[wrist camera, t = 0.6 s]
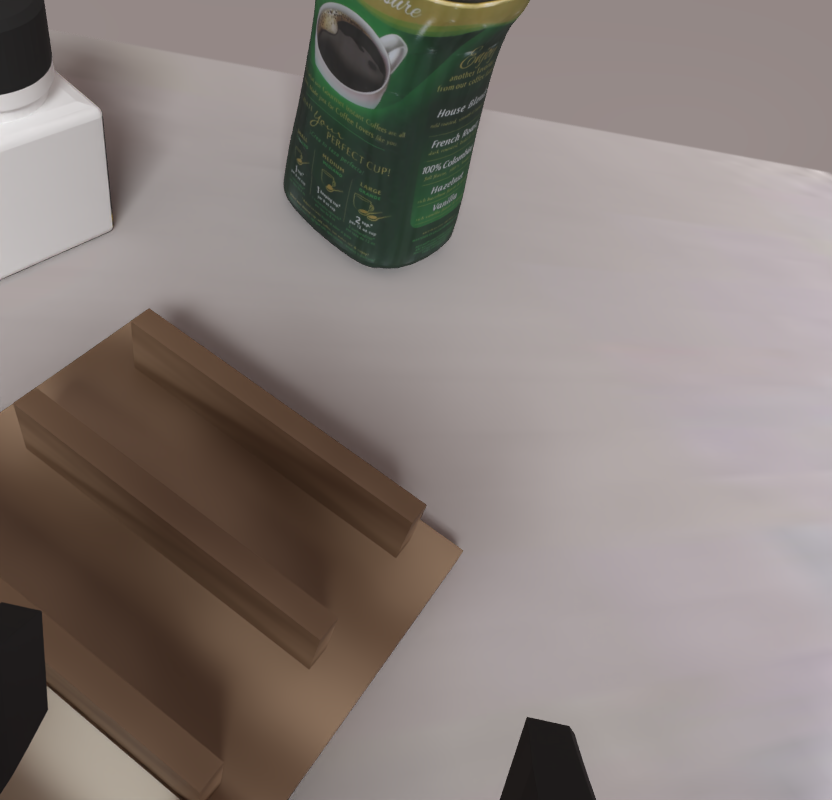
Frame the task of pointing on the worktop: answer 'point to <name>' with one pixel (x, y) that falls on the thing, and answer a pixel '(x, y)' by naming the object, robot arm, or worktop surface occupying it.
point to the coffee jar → (391, 121)
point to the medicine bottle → (45, 148)
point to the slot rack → (196, 574)
